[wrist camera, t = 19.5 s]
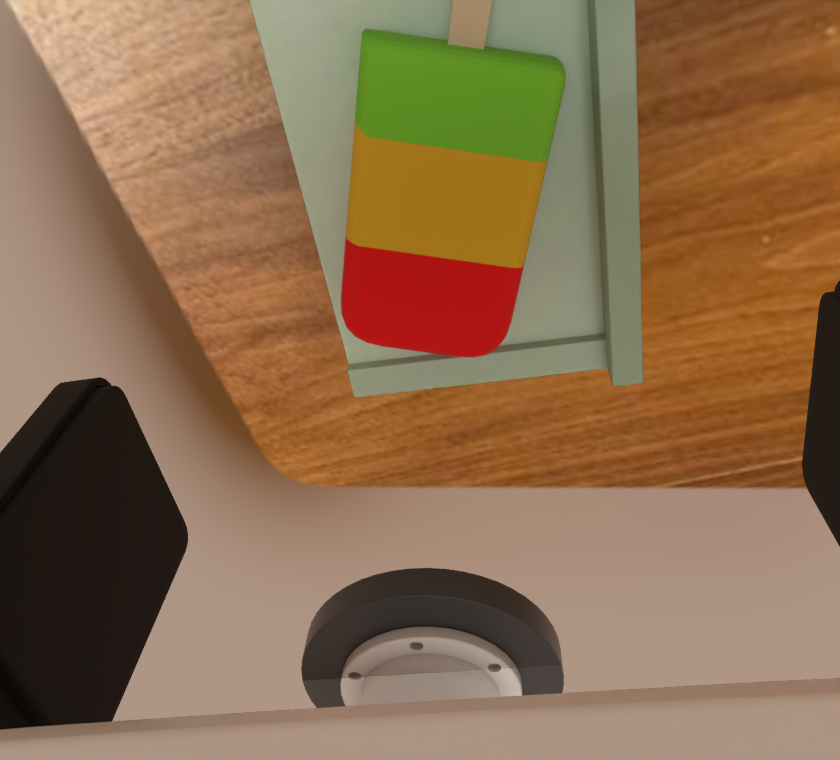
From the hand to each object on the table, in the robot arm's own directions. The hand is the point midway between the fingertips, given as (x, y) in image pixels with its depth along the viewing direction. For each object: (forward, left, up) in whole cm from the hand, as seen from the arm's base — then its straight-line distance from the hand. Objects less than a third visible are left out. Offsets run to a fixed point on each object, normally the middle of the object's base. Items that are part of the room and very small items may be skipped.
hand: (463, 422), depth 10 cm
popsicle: (+1, 0, -15) cm, 15 cm away
